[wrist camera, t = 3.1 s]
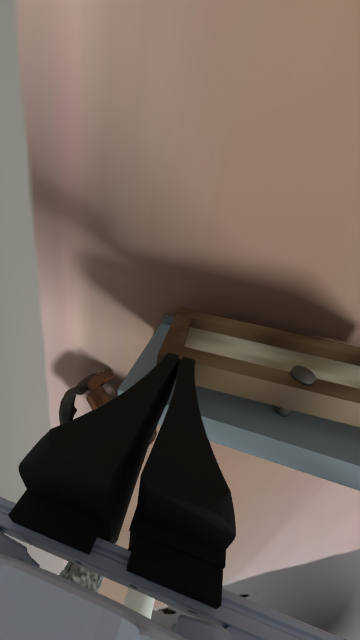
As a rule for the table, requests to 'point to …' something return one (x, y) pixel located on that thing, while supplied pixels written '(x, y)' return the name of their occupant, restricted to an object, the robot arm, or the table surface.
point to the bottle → (139, 602)
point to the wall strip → (266, 427)
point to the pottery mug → (94, 398)
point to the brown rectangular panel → (268, 365)
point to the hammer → (83, 576)
